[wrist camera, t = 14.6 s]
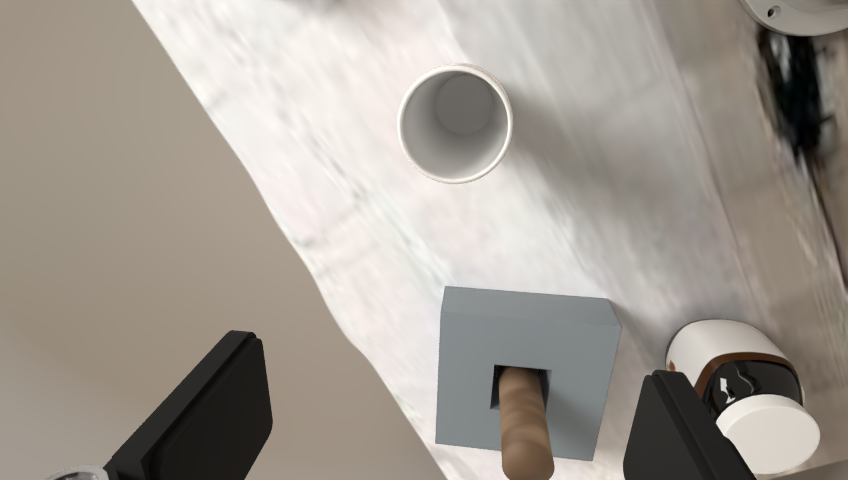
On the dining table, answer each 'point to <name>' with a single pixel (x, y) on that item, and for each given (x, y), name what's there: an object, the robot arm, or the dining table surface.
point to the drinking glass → (455, 123)
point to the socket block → (524, 364)
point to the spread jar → (747, 391)
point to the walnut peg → (523, 425)
